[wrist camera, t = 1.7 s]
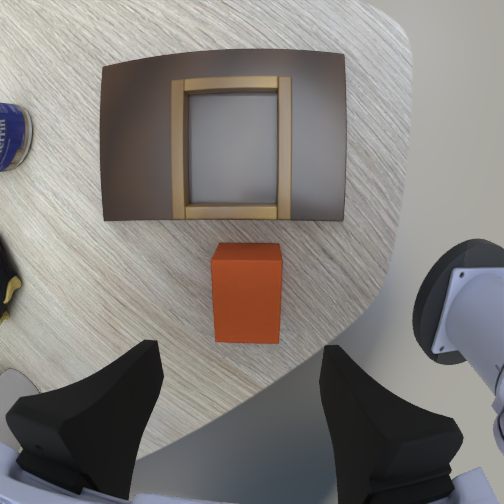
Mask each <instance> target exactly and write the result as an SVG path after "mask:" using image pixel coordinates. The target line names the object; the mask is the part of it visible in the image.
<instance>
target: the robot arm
mask: <svg viewBox="0 0 504 504" xmlns="http://www.w3.org/2000/svg"><path fill="white" fill-rule="evenodd" d="M461 272H462V274H461V276H460V273H461ZM431 350H432V352H433V353H434V354H436V353H443V352H449V351H455V350H459V352H460V353H461V354H462V355H463V356H464V358H465V359H466V360H467V361H468V362H469V364H470V365H471V366H472V367H473V368H474V370H475V371H476V372H477V373H478V375H479V376H480V377H481V378H482V380H483V381H484V382H485V383H486V385H487V386H488V387H489V388H490V390H491V391H492V392H493V394H494V395H495V396H496V398H495V400H494V402H493V404H492V407H493V409H494V410H495V411H496V413H497V414H498V416H497V417H496V419H495V421H494V425H493V432H494V437H495V440H496V443H497V446H498V448H499V450H500V451H501V453H502V454H503V455H504V267H479V268H455V269H453V270H452V272H451V276H450V280H449V285H448V289H447V294H446V298H445V302H444V306H443V310H442V314H441V318H440V321H439V325H438V328H437V332H436V335H435V338H434V342H433V345H432V348H431ZM163 379H164V374H163V369H162V363H161V358H160V353H159V347H158V342H157V341H155V340H143V341H142V342H140V343H139V344H137V345H136V346H135V347H133V348H132V349H130V350H129V351H128V352H126V353H125V354H124V355H122V356H121V357H119V358H118V359H117V360H115V361H114V362H112V363H111V364H109V365H107V366H106V367H104V368H103V369H101V370H100V371H98V372H96V373H94V374H92V375H91V376H89V377H87V378H85V379H83V380H80V381H78V382H76V383H73V384H71V385H68V386H65V387H63V388H60V389H56V390H53V391H49V392H45V393H41V394H36V395H29V396H22V397H19V399H18V400H17V401H16V402H15V404H14V405H13V406H12V407H11V408H10V410H9V411H8V412H7V413H6V416H5V419H6V422H7V425H8V427H9V429H10V431H11V432H12V434H13V435H14V437H15V438H16V439H17V441H18V442H19V444H20V445H21V447H22V448H23V450H22V452H21V453H19V452H17V451H16V450H15V449H13V448H12V447H10V446H8V445H6V444H4V443H2V442H1V441H0V504H237V503H227V502H214V501H204V500H196V499H188V498H181V497H175V496H169V495H163V494H158V493H146V492H144V493H141V494H138V495H135V496H134V497H133V500H132V502H131V501H128V499H129V492H130V485H131V479H132V474H133V469H134V465H135V460H136V456H137V452H138V448H139V445H140V441H141V438H142V435H143V432H144V430H145V427H146V425H147V422H148V420H149V418H150V415H151V413H152V411H153V408H154V406H155V404H156V401H157V399H158V397H159V394H160V390H161V387H162V383H163ZM319 384H320V394H321V401H322V405H323V409H324V413H325V416H326V420H327V424H328V428H329V432H330V435H331V439H332V444H333V450H334V458H335V466H336V477H337V491H338V504H499V502H498V500H497V498H496V496H495V494H494V492H493V490H492V488H491V486H490V484H489V482H488V480H487V478H486V476H485V474H484V472H483V470H482V468H481V467H478V468H476V469H473V470H471V471H468V472H466V473H463V474H461V475H458V476H457V477H455V478H454V479H452V480H451V478H450V476H449V474H450V473H451V471H452V469H451V467H450V465H449V463H450V462H451V460H452V459H453V458H454V456H455V455H456V453H457V452H458V450H459V449H460V447H461V445H462V443H463V438H464V437H463V434H462V433H461V431H460V429H459V427H458V425H457V424H456V422H455V421H454V419H453V418H450V417H446V416H443V415H439V414H436V413H433V412H430V411H427V410H425V409H422V408H420V407H418V406H415V405H413V404H411V403H409V402H407V401H405V400H403V399H402V398H400V397H398V396H397V395H395V394H393V393H392V392H390V391H389V390H387V389H386V388H384V387H383V386H382V385H380V384H379V383H378V382H377V381H375V380H374V379H373V378H372V377H370V376H369V375H368V374H367V373H366V372H365V371H364V370H363V369H361V368H360V367H359V366H358V365H357V364H356V363H355V362H354V361H353V360H352V359H351V358H350V357H349V355H348V354H347V353H346V352H345V351H344V350H343V349H342V348H341V347H340V346H339V345H325V346H324V353H323V360H322V367H321V373H320V379H319Z"/></svg>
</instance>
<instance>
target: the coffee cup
mask: <svg viewBox="0 0 504 504" xmlns="http://www.w3.org/2000/svg"><path fill="white" fill-rule="evenodd" d="M36 394H40V393H39V391H38V390H37V388H36V387H35V386H34V385H33V383H32V382H31V381H30V380H29V379H28V378H27V377H25V376H24V375H23V374H22V373H20V372H19V371H17V370H14V369H7V370H6V371H5V372H4V373H2V374H1V375H0V441H1V442H2V443H4V444H6V445H8V446H10V447H12V448H13V449H15V450H16V451H17V452H18V451H19V449H20V447H21V445H20V444H19V442H18V441H17V439H16V438H15V437H14V435H13V434H12V432H11V431H10V429H9V427H8V425H7V422H6V419H5V416H6V413H7V412H8V411H9V410H10V408H11V407H12V406H13V405H14V404H15V402H16V401H17V400H18V399H19V397H22V396H29V395H36Z"/></svg>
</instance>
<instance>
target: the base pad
mask: <svg viewBox="0 0 504 504" xmlns="http://www.w3.org/2000/svg"><path fill="white" fill-rule="evenodd" d="M346 138H347V119H346V77H345V57H344V54H339V53H331V52H321V51H308V50H292V49H225V50H209V51H197V52H186V53H178V54H170V55H162V56H156V57H149V58H143V59H138V60H132V61H127V62H122V63H117V64H113V65H108V66H104V67H103V69H102V82H101V101H100V172H101V191H102V206H103V217H104V221H133V220H305V221H343V220H344V204H345V182H346Z"/></svg>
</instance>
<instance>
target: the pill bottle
mask: <svg viewBox="0 0 504 504" xmlns="http://www.w3.org/2000/svg"><path fill="white" fill-rule="evenodd" d="M31 137H32V124H31V119H30V116H29V114H28V112H27V111H26V110H25V109H24V108H23V107H21V106H19V105H14V104H6V103H0V172H3V171H8V170H12V169H14V168H16V167H17V166H18V165H19V164H20V163H21V162H22V161H23V160H24V158H25V156H26V154H27V152H28V150H29V147H30V143H31Z"/></svg>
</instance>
